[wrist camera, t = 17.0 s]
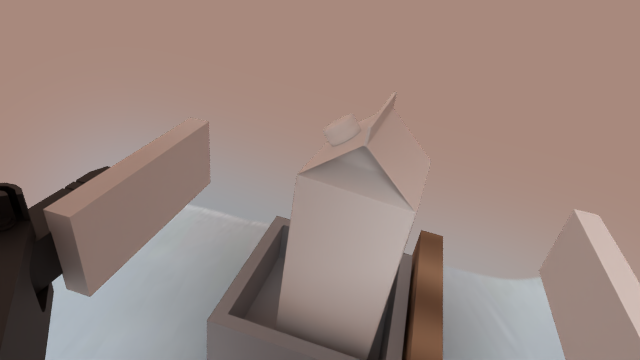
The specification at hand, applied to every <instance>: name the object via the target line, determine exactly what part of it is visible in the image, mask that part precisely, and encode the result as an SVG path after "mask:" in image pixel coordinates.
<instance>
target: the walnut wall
mask: <svg viewBox="0 0 640 360" xmlns="http://www.w3.org/2000/svg"><path fill="white" fill-rule="evenodd" d="M412 256H413V257H412V267H411V276H410V286H409V295H408V304H407V314H406V323H405V333H404V342H403V351H402V360H443V236H440V235H436V234H433V233H429V232H426V231H421V233H420V235H419V239H418V241H417V244H416V247H415V250H414V252H413V255H412Z"/></svg>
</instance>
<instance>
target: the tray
mask: <svg viewBox="0 0 640 360" xmlns="http://www.w3.org/2000/svg"><path fill="white" fill-rule="evenodd" d="M289 227H290V220H289V219H286V218H283V217H279V216H276V218H275V220H274V221H273V222H272V224H271V225H270V227H269V228H268V230H267V231H266V233H265V234H264V236H263V237H262V239H261V240H260V242H259V243H258V245H257V246H256V248H255V249H254V251H253V252H252V254H251V255H250V257H249V258H248V260H247V261H246V263H245V264H244V266H243V267H242V269H241V270H240V272H239V273H238V275H237V276H236V278H235V279H234V281H233V282H232V284H231V285H230V287H229V288H228V290H227V291H226V293H225V294H224V296H223V297H222V299H221V300H220V302H219V303H218V305H217V306H216V308H215V309H214V311H213V312H212V314H211V315H210V317H209V318H208V320H207V360H360V359H357V358H354V357H352V356H349V355H346V354H343V353H340V352H337V351H334V350H331V349H328V348H325V347H322V346H320V345H317V344H314V343H311V342H308V341H305V340H302V339H299V338H296V337H293V336H290V335H288V334H285V333H282V332H279V331H276V330H275V328H276V321H277V314H278V307H279V299H280V292H281V285H282V278H283V270H284V263H285V256H286V249H287V242H288V234H289ZM412 257H413V256H412V255H408V254H405V253H403V255H402V258H401V261H400V264H399V267H398V270H397V273H396V276H395V279H394V281H393V284H392V287H391V290H390V293H389V296H388V299H387V302H386V305H385V308H384V311H383V314H382V317H381V320H380V323H379V326H378V329H377V332H376V335H375V337H374V340H373V343H372V346H371V349H370V352H369V355H368V358H367V360H402V351H403V342H404V333H405V323H406V314H407V304H408V295H409V286H410V276H411V267H412Z"/></svg>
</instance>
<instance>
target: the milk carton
mask: <svg viewBox="0 0 640 360" xmlns="http://www.w3.org/2000/svg"><path fill="white" fill-rule="evenodd" d="M396 95H397V92H393V93H392V95H391V96H390V97H389V98H388V100H387V101H386V102H385V104H384V105H383V106H382V108H381V109H380V110H379V112H378V113H376V114H374V115H372V116H370V117H368V118H366V119H363V120H361V121H359V122H357V120H356V118H355V116H354V115H353V114H348V115H346V116H343V117H341V118H339V119H337V120H335V121H334V122H332V123H331V124H329V125H328V126H326V127H325V128H324V130H323V132H324V134H325V136H326V138H327V139H328V142H327V143H326V144H325V145H324V146H323V147H322V148H321V149H320V150H319V151H318V152H317V153H316V155H315V156H314V157H313V158H312V159H311V160H310V161H309V162H308V163H307V164H306V165H305V166H304V168H302V170H301V171H300V172H299V173H298V175H297V179H296V185H295V191H294V198H293V206H292V213H291V220H290V227H289V234H288V242H287V249H286V256H285V263H284V270H283V278H282V285H281V292H280V299H279V307H278V314H277V321H276V328H275V330H276V331H279V332H282V333H285V334H288V335H290V336H293V337H296V338H299V339H302V340H305V341H308V342H311V343H314V344H317V345H320V346H322V347H325V348H328V349H331V350H334V351H337V352H340V353H343V354H346V355H349V356H352V357H354V358H357V359H360V360H367V358H368V355H369V352H370V349H371V346H372V343H373V340H374V337H375V335H376V332H377V329H378V326H379V323H380V320H381V317H382V314H383V311H384V308H385V305H386V302H387V299H388V296H389V293H390V290H391V287H392V284H393V281H394V279H395V276H396V273H397V270H398V267H399V264H400V261H401V258H402V255H403V252H404V249H405V246H406V243H407V240H408V237H409V234H410V231H411V228H412V225H413V223H414V220H415V217H416V214H417V211H418V207H419V204H420V200H421V197H422V193H423V190H424V186H425V182H426V179H427V175H428V172H429V168H430V164H431V160H430V159H429V157H428V156H427V154H426V153H425V152H424V150H423V149H422V148H421V146H420V145H419V143H418V142H417V140H416V139H415V138H414V136H413V135H412V133H411V132H410V131H409V129H408V128H407V126H406V125H405V123H404V122H403V121H402V119H401V118H400V116H399V115H398V114H397V112H396V111H395V109H394V108H393V106H394V102H395V99H396Z"/></svg>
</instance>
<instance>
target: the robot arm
mask: <svg viewBox="0 0 640 360" xmlns="http://www.w3.org/2000/svg"><path fill="white" fill-rule="evenodd" d="M209 149H210V148H209V122H208V121H204V120H200V119H196V118H189V119H187V120H186V121H184V122H183V123H181V124H179V125H178V126H176V127H175V128H173V129H171V130H170V131H168V132H167V133H165V134H164V135H162V136H160V137H159V138H157V139H155V140H154V141H152V142H150V143H149V144H147V145H146V146H144V147H142V148H141V149H139V150H138V151H136V152H134V153H133V154H132V155H130V156H128V157H126V158H125V159H123V160H122V161H120V162H118V163H117V164H115V165H114V166H112V167H108V166H107V167H104V168H101V169H97V170H94V171H91V172H89V173H87V174H86V175H84V176H83V177H81V178H79V179H77V180H76V182H72V183H71V184H69V185H67V186H66V187H65V189H61V190H59V191H57V192H56V193H54V194H52V195H51V196H49V197H47V198H46V199H44V200H42V201H41V202H39V203H37V204H36V205H34V206H32V207H31V208H29V209H28V208H27V205H26V202H25V198H24V195H23V192H22V189H21V188H20V187H18V186H17V185H14V184H9V183H0V360H45V355H46V347H47V340H48V332H49V324H50V316H51V309H52V301H53V293H54V290H53V286H52V281H54V280H55V279H56V278H57V277H58V276H60V275H61V274H62V275H63V278H64V282H65V285H66V288H67V289H69V290H71V291H74V292H77V293H80V294H83V295H86V296H89V297H90V296H91V295H93V294H94V293H95V292H96V291H97V290H98V289H99V288H100V287H101V286H102V285H103V284H104V283H105V282H106V281H107V280H108V279H109V278H110V277H111V276H113V275H114V274H115V273H116V272H117V271H118V270H119V269H120V268H121V267H122V266H123V265H124V264H125V263H126V262H127V261H128V260H129V259H130V258H131V257H132V256H134V255H135V254H136V253H137V252H138V251H139V250H140V249H141V248H142V247H143V246H144V245H145V244H146V243H147V242H148V241H149V240H150V239H151V238H152V237H154V236H155V235H156V234H157V233H158V232H159V231H160V230H161V229H162V228H163V227H164V226H165V225H166V224H167V223H168V222H169V221H170V220H171V219H172V218H174V217H175V216H176V215H177V214H178V213H179V212H180V211H181V210H182V209H183V208H184V207H185V206H186V205H187V204H188V203H189V202H190V201H191V200H192V199H193V198H195V197H196V196H197V195H198V194H199V193H200V192H201V191H202V190H203V189H204V188H205V187H206V186H207V185H208V184H209V183H210V150H209ZM539 272H540V275H541V279H542V282H543V285H544V289H545V292H546V295H547V299H548V302H549V305H550V309H551V312H552V315H553V319H554V322H555V325H556V329H557V332H558V335H559V339H560V342H561V345H562V349H563V352H564V355H565V359H566V360H640V283H639V281H638V279H637V278H636V276H635V274H634V273H633V271H632V269H631V268H630V266H629V264H628V263H627V261H626V259H625V258H624V256H623V254H622V253H621V251H620V249H619V248H618V246H617V244H616V243H615V241H614V239H613V238H612V236H611V234H610V233H609V231H608V229H607V228H606V226H605V224H604V223H603V221H602V220H601V218H600V216H599V215H597V214H593V213H588V212H584V211H580V210H576V209H573V211H572V213H571V215H570V217H569V219H568V220H567V222H566V224H565V225H564V227H563V229H562V231H561V233H560V234H559V236H558V238H557V240H556V241H555V243H554V245H553V247H552V248H551V250H550V252H549V254H548V256H547V257H546V259H545V261H544V263H543V264H542V266H541V268H540V270H539Z"/></svg>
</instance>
